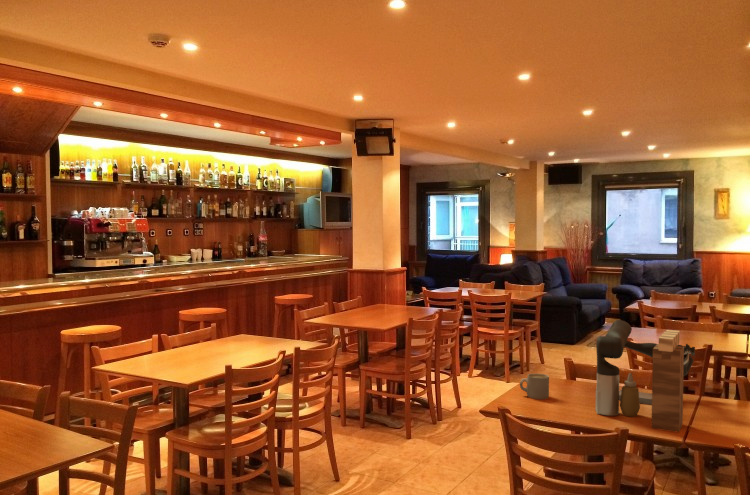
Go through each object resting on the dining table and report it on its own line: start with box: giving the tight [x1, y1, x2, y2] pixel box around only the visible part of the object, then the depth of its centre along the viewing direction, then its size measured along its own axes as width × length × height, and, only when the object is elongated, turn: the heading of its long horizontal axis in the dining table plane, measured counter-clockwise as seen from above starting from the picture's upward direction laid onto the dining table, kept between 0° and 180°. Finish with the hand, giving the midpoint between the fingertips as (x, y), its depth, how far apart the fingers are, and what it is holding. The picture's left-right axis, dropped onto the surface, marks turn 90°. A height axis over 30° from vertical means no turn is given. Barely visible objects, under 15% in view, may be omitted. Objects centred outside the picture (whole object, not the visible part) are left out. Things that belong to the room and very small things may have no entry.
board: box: [619, 389, 652, 406], centre depth 293 cm, size 26×11×2 cm, turn 58°
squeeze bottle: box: [619, 372, 641, 417], centre depth 271 cm, size 8×8×18 cm
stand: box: [651, 343, 685, 433], centre depth 255 cm, size 12×10×32 cm
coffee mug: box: [519, 372, 550, 400], centre depth 301 cm, size 13×10×10 cm
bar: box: [658, 329, 681, 352], centre depth 257 cm, size 24×5×5 cm, turn 148°
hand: (675, 345), depth 275 cm, fingers open, 8 cm apart
